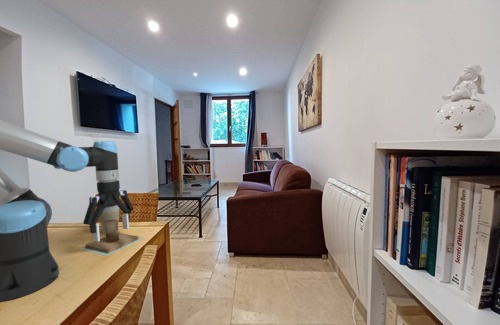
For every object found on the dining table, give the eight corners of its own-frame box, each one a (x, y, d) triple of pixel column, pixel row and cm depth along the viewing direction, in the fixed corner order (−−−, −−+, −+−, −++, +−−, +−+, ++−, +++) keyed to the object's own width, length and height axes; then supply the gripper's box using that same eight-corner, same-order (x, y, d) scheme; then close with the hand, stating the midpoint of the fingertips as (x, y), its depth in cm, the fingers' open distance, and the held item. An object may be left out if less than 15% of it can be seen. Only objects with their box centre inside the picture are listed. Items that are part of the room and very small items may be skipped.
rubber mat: (107, 257, 80) (107, 256, 80) (78, 250, 86) (78, 249, 86) (144, 239, 94) (144, 238, 94) (117, 234, 100) (117, 233, 100)
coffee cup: (114, 235, 99) (111, 202, 98) (93, 236, 99) (90, 202, 98) (126, 227, 108) (124, 197, 107) (107, 228, 108) (104, 197, 107)
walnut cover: (108, 253, 81) (106, 229, 81) (85, 247, 86) (83, 224, 86) (138, 239, 93) (136, 217, 93) (116, 235, 98) (115, 214, 98)
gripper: (81, 186, 75) (86, 249, 77) (140, 176, 97) (143, 225, 99) (67, 185, 78) (73, 245, 80) (128, 176, 100) (131, 223, 102)
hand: (112, 234), depth 90 cm, fingers open, 12 cm apart
